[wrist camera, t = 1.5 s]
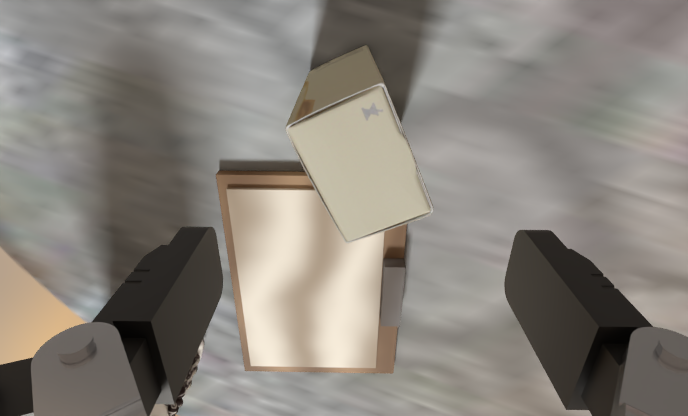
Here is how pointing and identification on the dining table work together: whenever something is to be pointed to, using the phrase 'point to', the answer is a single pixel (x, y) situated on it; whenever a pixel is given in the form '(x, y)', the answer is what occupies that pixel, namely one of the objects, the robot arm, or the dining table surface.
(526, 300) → the robot arm
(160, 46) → the dining table surface
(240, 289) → the clipboard
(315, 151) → the skincare box
